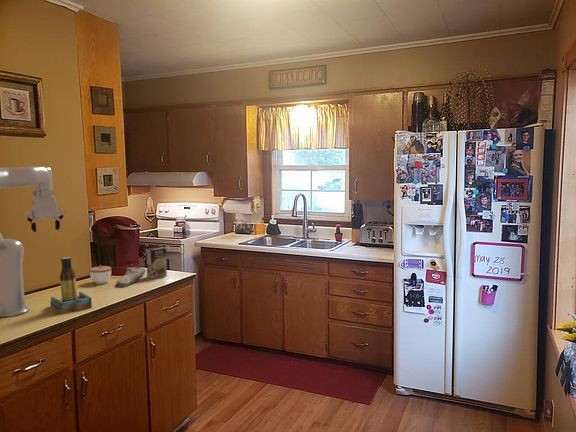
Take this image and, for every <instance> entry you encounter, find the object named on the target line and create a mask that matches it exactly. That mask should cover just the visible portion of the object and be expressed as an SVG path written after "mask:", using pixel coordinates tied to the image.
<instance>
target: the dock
mask: <svg viewBox="0 0 576 432" xmlns="http://www.w3.org/2000/svg"><path fill="white" fill-rule="evenodd" d="M92 302H93V301H92V297H91V296H90V295H87V294H86V293H84V292H82V291H79V292H78V295H77V300H73V301H67V302H63V301H62V298H59V299H57V298H56V297H54V296H50V308H52V309H53V310H55V311H56V313H58V314H60V315H61V314H67V313H72V312H75V311H76V312H78V311H81V310H87V309H92V307H93V305H92Z"/></svg>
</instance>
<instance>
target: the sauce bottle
mask: <svg viewBox="0 0 576 432" xmlns="http://www.w3.org/2000/svg"><path fill="white" fill-rule="evenodd" d="M60 262H61V272H60V276H59V283H60V284H59V285H60V293H61V299H62V301H63V302H67V301H73V300H77V296H78V290H77V281H76V279H77V277H76V272H75V271H74V269H73V268H72V267H73V266H72V257H71V256H65V257H62V258H60Z"/></svg>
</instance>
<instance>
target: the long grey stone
mask: <svg viewBox="0 0 576 432" xmlns="http://www.w3.org/2000/svg"><path fill="white" fill-rule="evenodd" d="M125 270H126V272H125V274H124V275H122V276H121V277H119V279H117V280H116V284H115V285H116V287H118V288H127V287H129V286H131V285H132V284H134V283H136V282H137V281H139V280H140V278H141V277H143V276H144V275H145V273H146V269H145V268H144V267H135V266H132V267H129V266H128V267H126V269H125Z"/></svg>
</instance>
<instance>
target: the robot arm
mask: <svg viewBox="0 0 576 432" xmlns="http://www.w3.org/2000/svg"><path fill="white" fill-rule="evenodd" d="M24 186H25V187H26V186H33V191H31V192H30V194H31V195H33V197H32V204H31V205H32V206H31V210H29V211H27V212H25V213H24V214H23V216H24V218H25V219H26V220H27V221H28V222H29V223H30V225H31V227H30V228H31V231H32V232H34V233H36V232H37V224H36V221H37V220H42V219H43V220H44V219H46V220H47V219H54V220H55V221H54V224H55V225H54V226H55V230H57V231H59V230H60V228H61V223H60V222H61V220H62V219H63V218H64V216H65V214H66V211H65V210H63V209H60V208H58V203H57V199H56V196H54V189H53V186H54V185H53V172H52V168H51V167H49V166H42V165H41V166H40V165H39V166H36V165H34V166H32V165H31V166H20V167H0V190H2V189H8V188H9V189H10V188H11V189H12V188H19V187H24ZM59 213H60V215H59ZM29 215H31V216H32V218H30V216H29ZM24 254H25V247H24V245H23V243H22V242H21V241H19V240H17V239H13V238H4V235H3V234H2V233H1V232H0V317H4V318H5V317H15V316H20V315H23V314H26V313H28V312H29V311H30V307H29V306H28V305H26V301H25V288H24V287H25V286H24V285H25V284H24V271H23V269H24V268H23V261H24Z"/></svg>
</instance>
